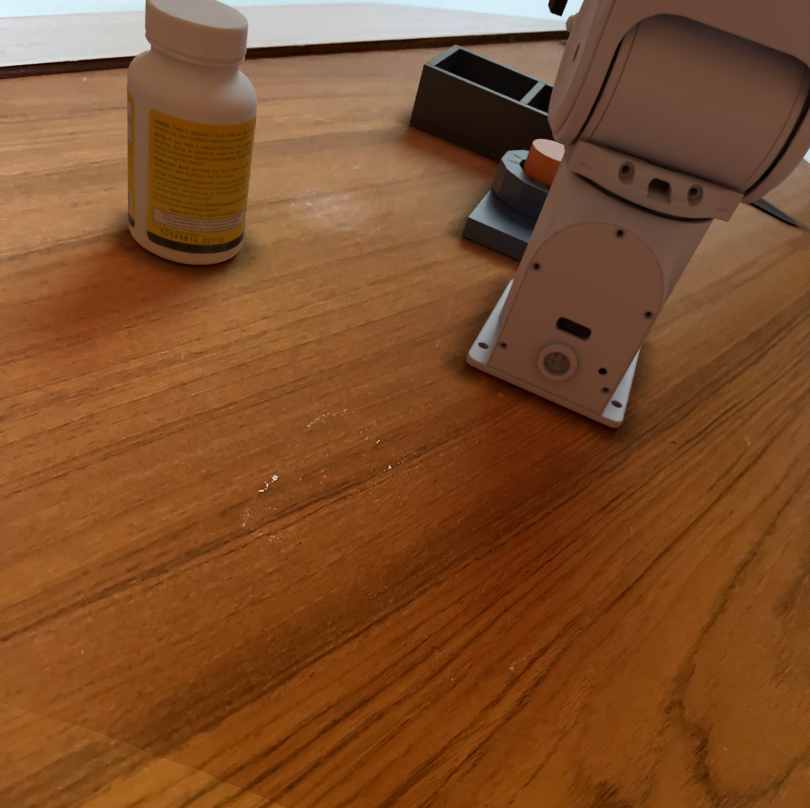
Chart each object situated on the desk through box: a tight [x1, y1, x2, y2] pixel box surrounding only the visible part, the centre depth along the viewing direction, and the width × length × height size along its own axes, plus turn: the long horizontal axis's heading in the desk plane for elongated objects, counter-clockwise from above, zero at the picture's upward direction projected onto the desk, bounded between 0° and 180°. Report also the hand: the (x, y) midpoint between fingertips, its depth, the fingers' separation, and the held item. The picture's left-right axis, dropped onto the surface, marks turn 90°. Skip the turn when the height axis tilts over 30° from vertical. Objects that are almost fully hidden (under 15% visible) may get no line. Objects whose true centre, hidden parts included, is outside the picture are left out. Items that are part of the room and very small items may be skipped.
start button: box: [523, 139, 565, 186], centre depth 47 cm, size 3×3×2 cm
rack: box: [408, 44, 564, 163], centre depth 56 cm, size 8×15×4 cm, turn 70°
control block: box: [461, 150, 551, 262], centre depth 47 cm, size 10×8×3 cm
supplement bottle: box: [126, 0, 258, 266], centre depth 33 cm, size 5×5×10 cm
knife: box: [751, 197, 801, 227], centre depth 64 cm, size 16×1×3 cm
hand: (613, 30), depth 46 cm, fingers open, 7 cm apart
